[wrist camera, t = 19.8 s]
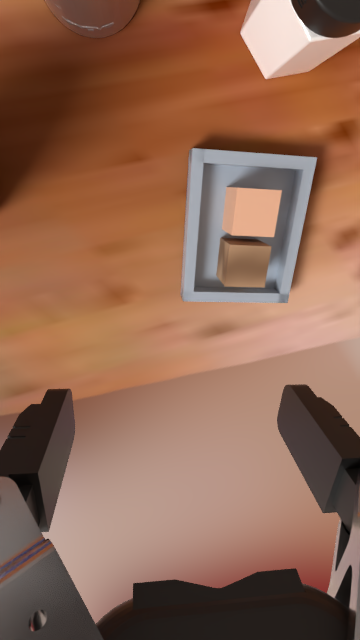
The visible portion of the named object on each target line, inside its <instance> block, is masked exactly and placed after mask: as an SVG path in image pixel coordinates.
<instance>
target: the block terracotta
mask: <svg viewBox="0 0 360 640" xmlns="http://www.w3.org/2000/svg"><path fill="white" fill-rule="evenodd" d="M281 193H282V190H268V189H251V188H235V187H226V195H225V205H224V214H223V224H222V230H224V231H225V232H227V233H229V234H230V235H234V236H258V237H274V234H275V229H276V223H277V217H278V211H279V205H280V199H281Z"/></svg>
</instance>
